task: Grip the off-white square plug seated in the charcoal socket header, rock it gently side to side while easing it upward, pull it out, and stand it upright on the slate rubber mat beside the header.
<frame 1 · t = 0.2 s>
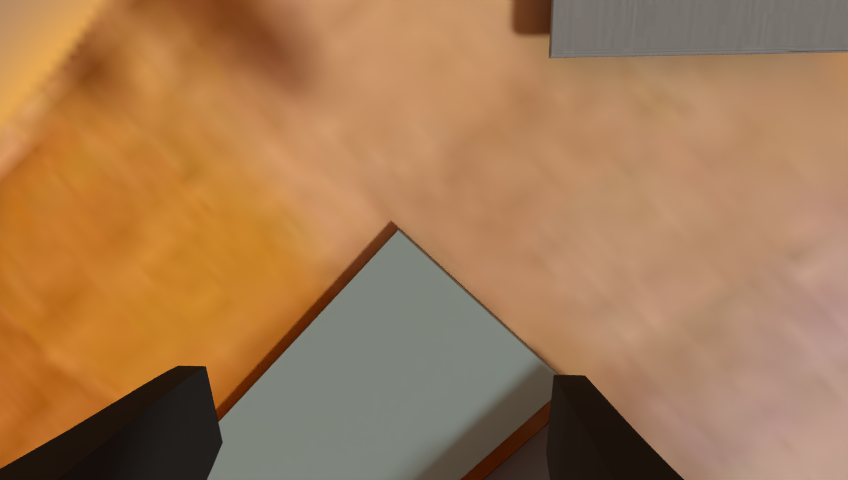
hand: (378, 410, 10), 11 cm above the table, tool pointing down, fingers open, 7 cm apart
mat: (363, 423, 22), on the table
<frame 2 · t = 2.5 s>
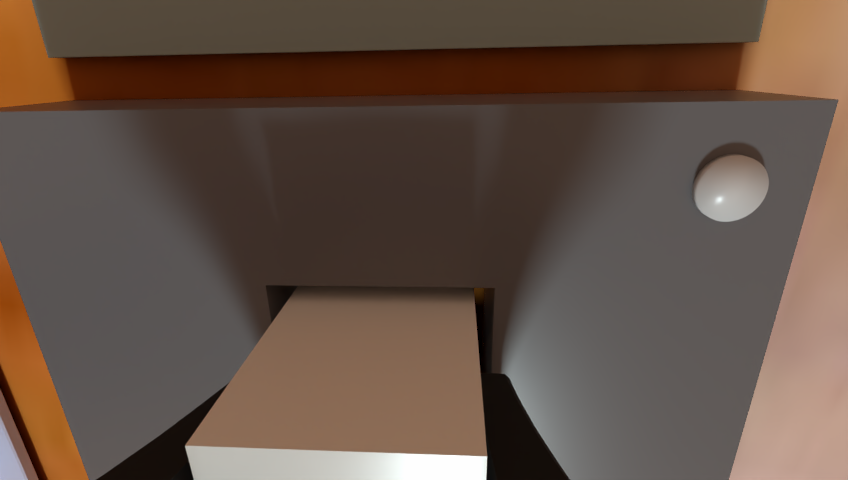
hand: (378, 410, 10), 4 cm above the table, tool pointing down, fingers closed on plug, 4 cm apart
header: (399, 314, 13), on the table
plug: (381, 395, 10), in the header, touching gripper
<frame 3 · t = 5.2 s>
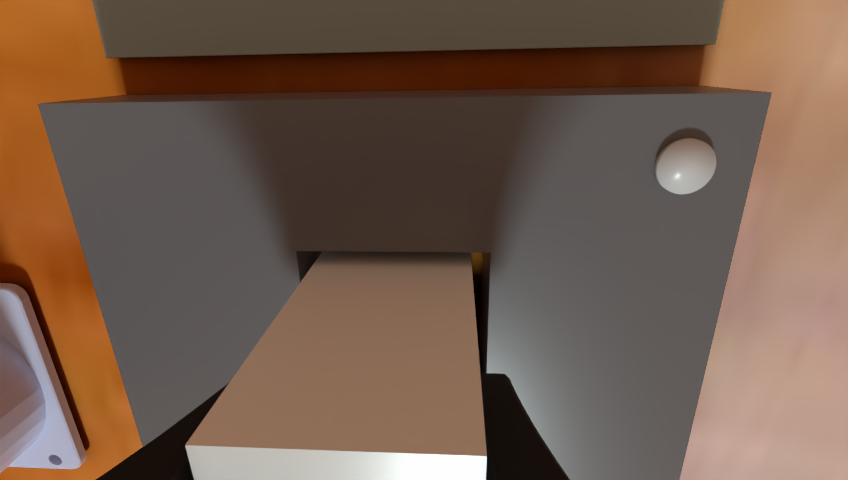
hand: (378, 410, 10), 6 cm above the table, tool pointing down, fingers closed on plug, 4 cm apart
header: (407, 284, 15), on the table
plug: (380, 395, 10), point 5 cm above the table, touching gripper
when the fingers open (5 cm above the table, at t = 8.0 s): plug stays where it is, resting on mat.
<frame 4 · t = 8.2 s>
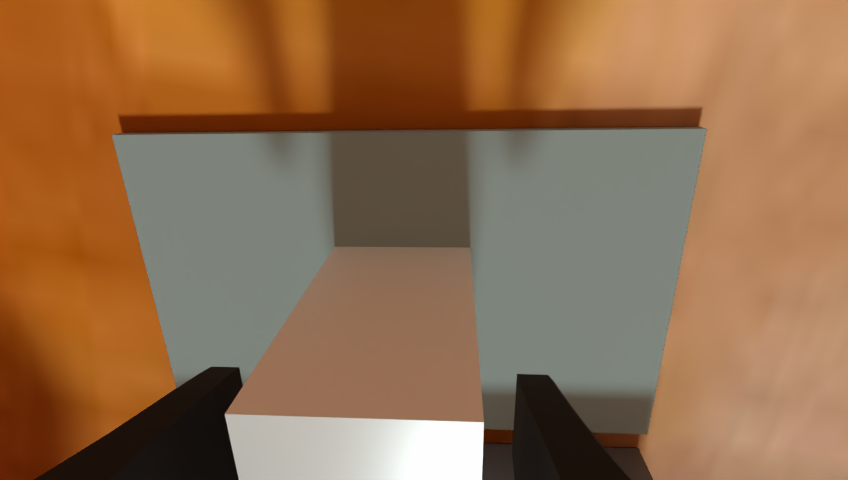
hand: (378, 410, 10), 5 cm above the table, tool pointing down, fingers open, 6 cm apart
mat: (404, 291, 15), on the table
plug: (388, 379, 11), on the mat
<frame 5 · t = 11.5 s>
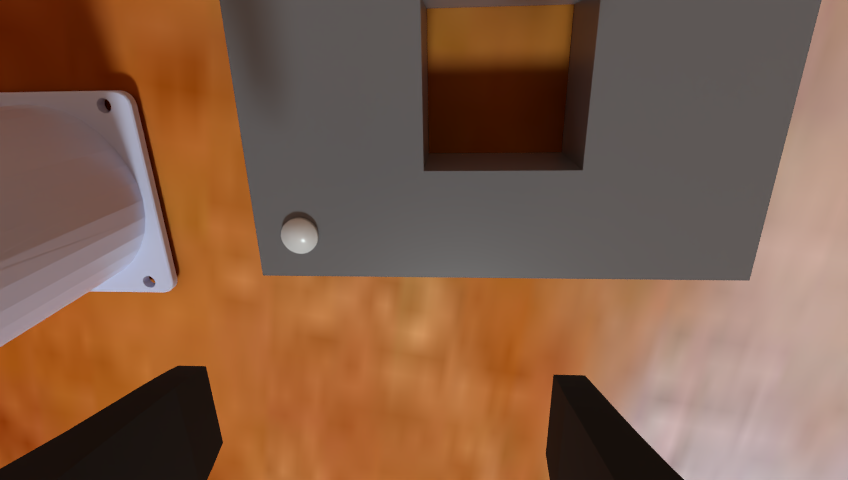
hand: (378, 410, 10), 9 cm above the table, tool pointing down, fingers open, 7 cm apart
header: (497, 83, 16), on the table
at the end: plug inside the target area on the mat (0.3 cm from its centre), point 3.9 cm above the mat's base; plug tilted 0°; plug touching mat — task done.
